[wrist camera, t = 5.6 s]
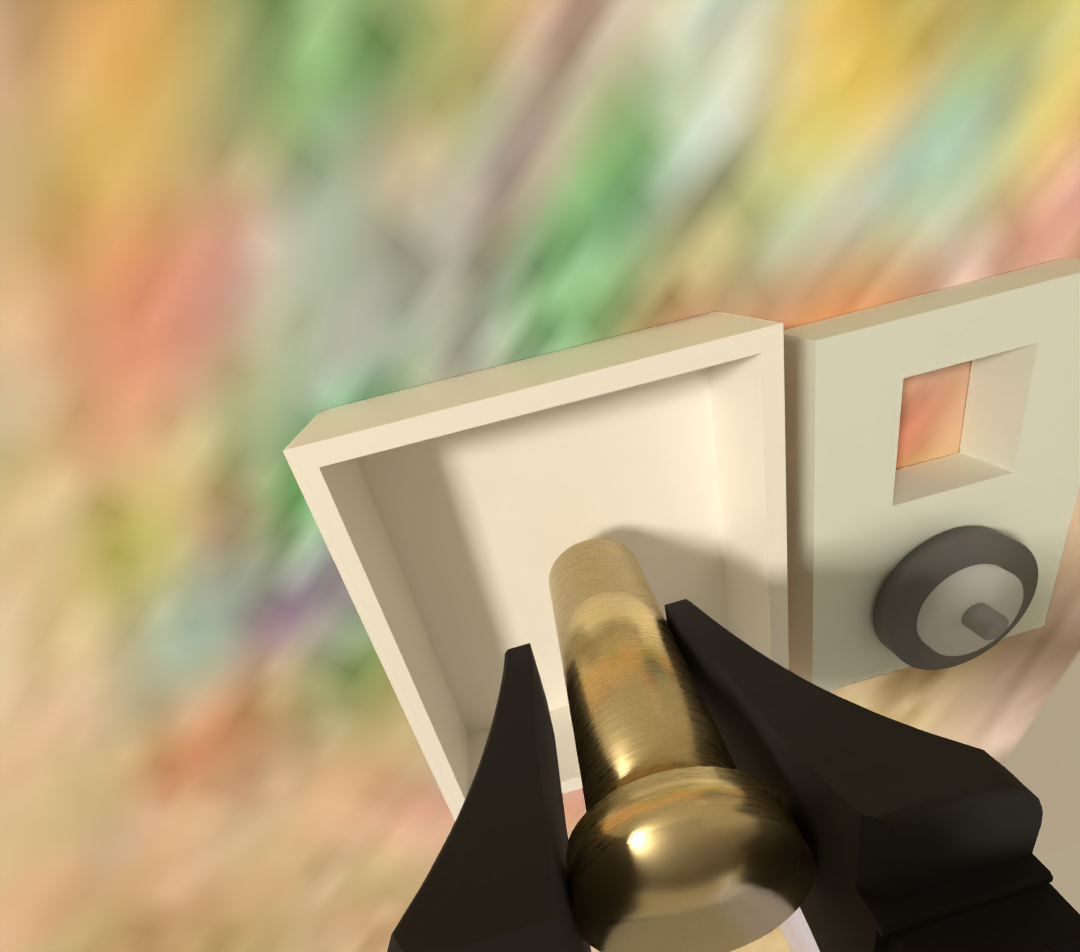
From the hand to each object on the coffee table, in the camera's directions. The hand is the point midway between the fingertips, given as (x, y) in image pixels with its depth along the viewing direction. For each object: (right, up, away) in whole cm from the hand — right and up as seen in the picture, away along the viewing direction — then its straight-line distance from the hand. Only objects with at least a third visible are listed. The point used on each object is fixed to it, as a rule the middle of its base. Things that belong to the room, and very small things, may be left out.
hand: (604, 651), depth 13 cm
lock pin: (0, +1, +3) cm, 3 cm away
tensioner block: (+12, +4, +6) cm, 14 cm away
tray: (-1, +2, +4) cm, 5 cm away
